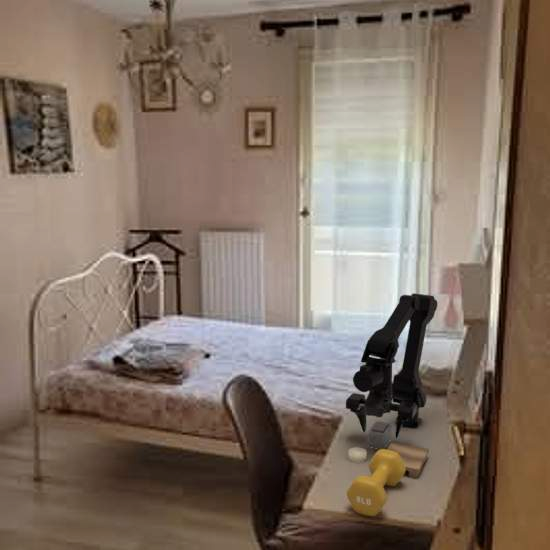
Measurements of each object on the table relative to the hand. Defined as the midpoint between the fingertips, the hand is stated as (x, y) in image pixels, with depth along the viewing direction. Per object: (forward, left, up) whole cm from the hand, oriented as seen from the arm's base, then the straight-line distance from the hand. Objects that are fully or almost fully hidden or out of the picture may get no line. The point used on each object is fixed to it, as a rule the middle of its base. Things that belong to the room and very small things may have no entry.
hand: (380, 434), depth 168 cm
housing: (0, 0, -3) cm, 3 cm away
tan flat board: (+9, +9, -3) cm, 13 cm away
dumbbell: (+27, +7, -3) cm, 28 cm away
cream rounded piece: (+11, -3, -3) cm, 12 cm away
